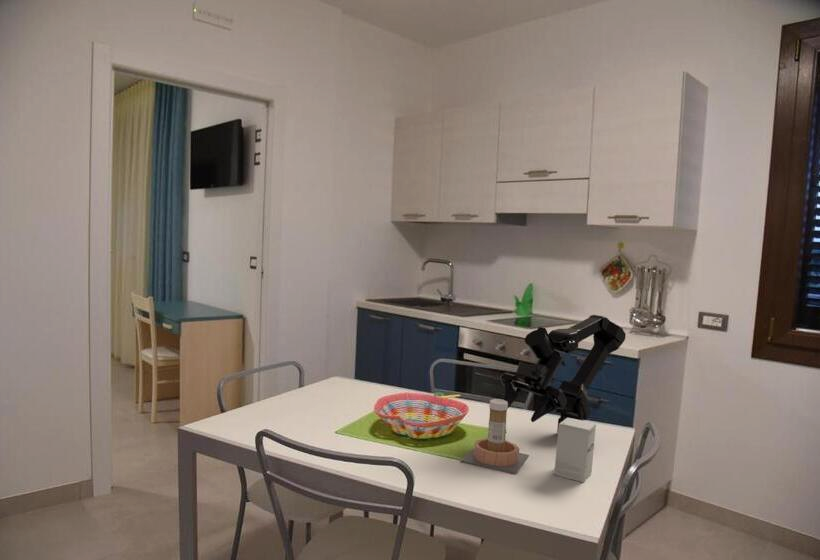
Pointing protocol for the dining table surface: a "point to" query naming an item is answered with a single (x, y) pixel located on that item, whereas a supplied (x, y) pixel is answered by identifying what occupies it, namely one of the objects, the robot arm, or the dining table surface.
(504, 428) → the sprinkles bottle
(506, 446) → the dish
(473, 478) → the dining table surface
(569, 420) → the supplement box
